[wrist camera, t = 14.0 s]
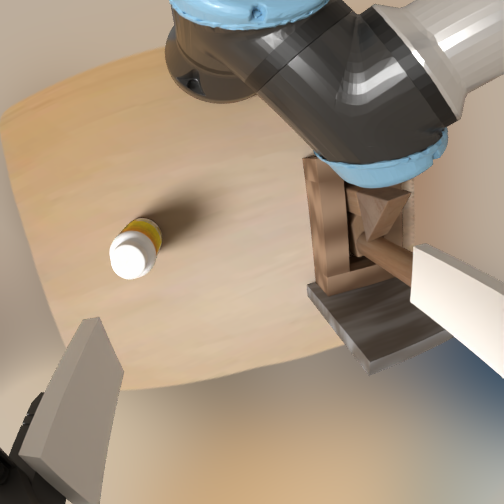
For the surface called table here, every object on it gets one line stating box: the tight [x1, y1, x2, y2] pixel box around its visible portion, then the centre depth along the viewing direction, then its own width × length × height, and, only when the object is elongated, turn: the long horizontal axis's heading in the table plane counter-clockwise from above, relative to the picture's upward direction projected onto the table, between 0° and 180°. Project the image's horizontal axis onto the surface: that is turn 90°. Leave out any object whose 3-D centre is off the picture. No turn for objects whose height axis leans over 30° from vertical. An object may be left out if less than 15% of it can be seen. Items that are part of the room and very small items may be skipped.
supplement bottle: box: [110, 218, 162, 279], centre depth 35 cm, size 6×6×10 cm
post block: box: [303, 157, 454, 375], centre depth 35 cm, size 21×16×20 cm
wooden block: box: [344, 181, 413, 287], centre depth 36 cm, size 4×11×18 cm, turn 18°
